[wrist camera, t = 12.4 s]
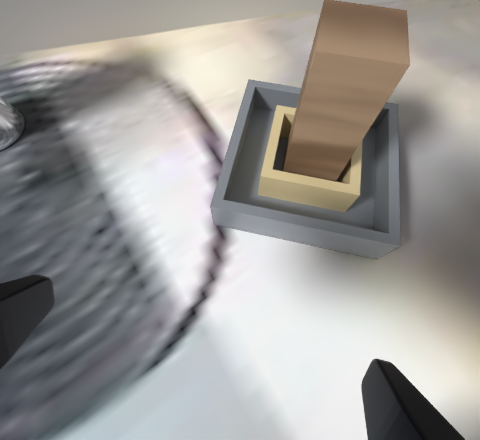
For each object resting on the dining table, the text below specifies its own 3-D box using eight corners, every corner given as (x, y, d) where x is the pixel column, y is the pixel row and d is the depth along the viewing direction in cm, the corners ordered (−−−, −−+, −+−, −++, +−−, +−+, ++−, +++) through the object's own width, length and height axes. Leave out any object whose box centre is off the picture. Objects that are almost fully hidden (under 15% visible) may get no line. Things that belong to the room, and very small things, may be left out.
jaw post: (328, 192, 23) (409, 65, 12) (279, 182, 24) (316, 50, 13) (332, 152, 25) (406, 10, 14) (286, 144, 26) (324, -1, 14)
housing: (376, 259, 22) (404, 244, 18) (213, 224, 23) (209, 203, 20) (379, 131, 28) (400, 99, 24) (247, 108, 29) (248, 74, 25)
